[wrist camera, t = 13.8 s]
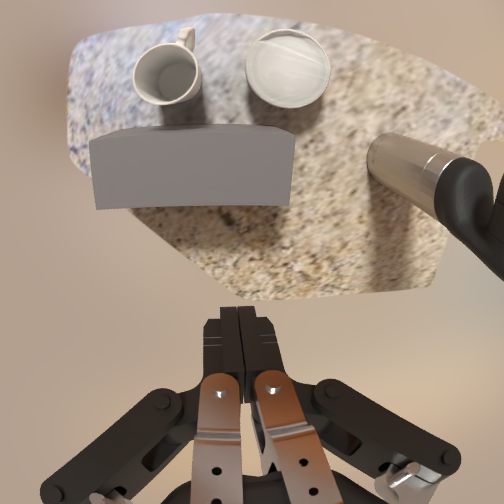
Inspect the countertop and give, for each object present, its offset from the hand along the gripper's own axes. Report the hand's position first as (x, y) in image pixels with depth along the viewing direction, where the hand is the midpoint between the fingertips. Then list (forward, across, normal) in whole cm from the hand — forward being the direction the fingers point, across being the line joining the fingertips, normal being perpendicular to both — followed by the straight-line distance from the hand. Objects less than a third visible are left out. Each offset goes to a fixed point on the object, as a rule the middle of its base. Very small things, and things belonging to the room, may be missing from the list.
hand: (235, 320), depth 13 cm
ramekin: (+32, -8, -14) cm, 36 cm away
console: (+32, +4, -2) cm, 32 cm away
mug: (+32, +6, -14) cm, 36 cm away
